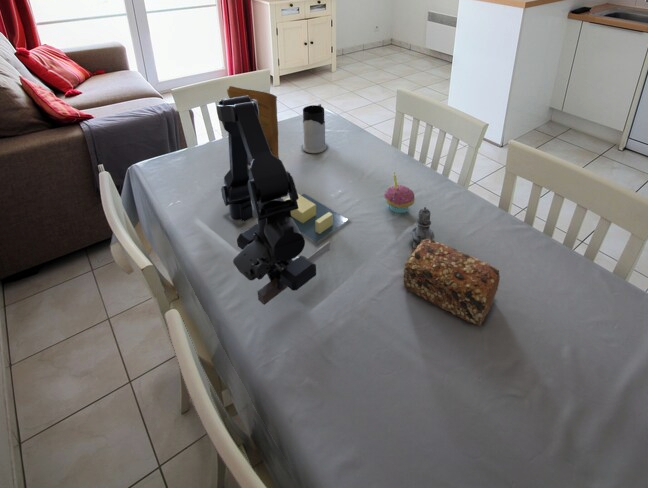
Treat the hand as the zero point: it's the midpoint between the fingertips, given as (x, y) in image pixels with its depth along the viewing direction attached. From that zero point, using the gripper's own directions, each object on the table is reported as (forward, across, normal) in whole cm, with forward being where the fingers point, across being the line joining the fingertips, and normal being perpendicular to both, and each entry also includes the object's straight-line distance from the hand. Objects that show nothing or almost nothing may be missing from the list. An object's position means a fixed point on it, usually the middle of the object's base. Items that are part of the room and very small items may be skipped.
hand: (277, 285), depth 91 cm
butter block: (+4, -19, +23) cm, 30 cm away
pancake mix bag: (+6, -49, +32) cm, 59 cm away
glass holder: (-2, -46, +55) cm, 71 cm away
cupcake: (+6, 0, +44) cm, 44 cm away
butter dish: (+5, -16, +24) cm, 29 cm away
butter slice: (+4, -9, +23) cm, 25 cm away
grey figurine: (+6, +13, +36) cm, 39 cm away
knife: (+1, 0, +6) cm, 6 cm away
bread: (+5, +26, +27) cm, 38 cm away
